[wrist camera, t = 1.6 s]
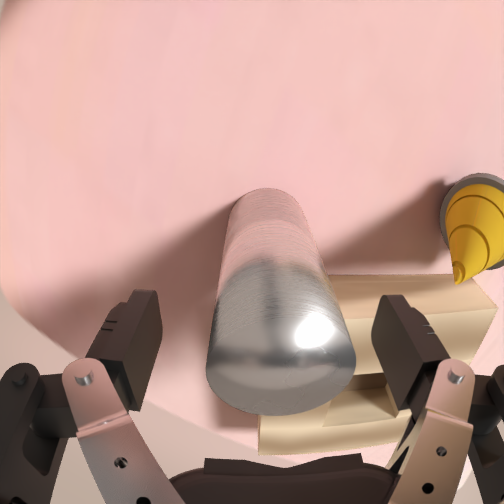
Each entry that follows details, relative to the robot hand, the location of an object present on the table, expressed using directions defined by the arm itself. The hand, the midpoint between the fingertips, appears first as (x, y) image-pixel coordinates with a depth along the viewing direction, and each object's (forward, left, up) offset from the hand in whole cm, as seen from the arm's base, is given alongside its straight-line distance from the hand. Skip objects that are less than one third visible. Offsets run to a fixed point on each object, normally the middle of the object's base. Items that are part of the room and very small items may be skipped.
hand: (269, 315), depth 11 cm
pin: (-1, 0, -7) cm, 7 cm away
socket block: (+9, +7, -7) cm, 14 cm away
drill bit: (-2, +11, -7) cm, 13 cm away
